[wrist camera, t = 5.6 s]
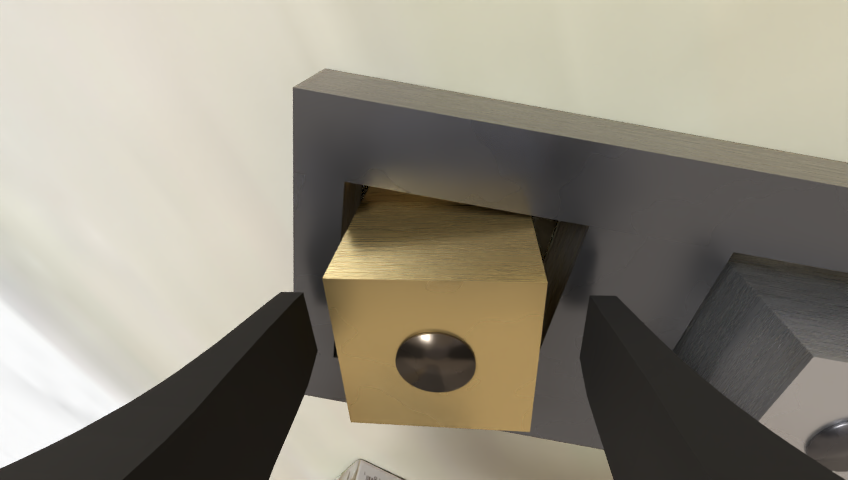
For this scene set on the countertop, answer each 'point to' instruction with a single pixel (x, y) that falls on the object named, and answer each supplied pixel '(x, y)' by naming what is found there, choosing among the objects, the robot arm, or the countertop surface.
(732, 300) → the zinc cube
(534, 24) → the countertop surface
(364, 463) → the coffee box
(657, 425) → the robot arm
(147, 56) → the countertop surface
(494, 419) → the tan wooden block
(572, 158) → the grey square-hole board
